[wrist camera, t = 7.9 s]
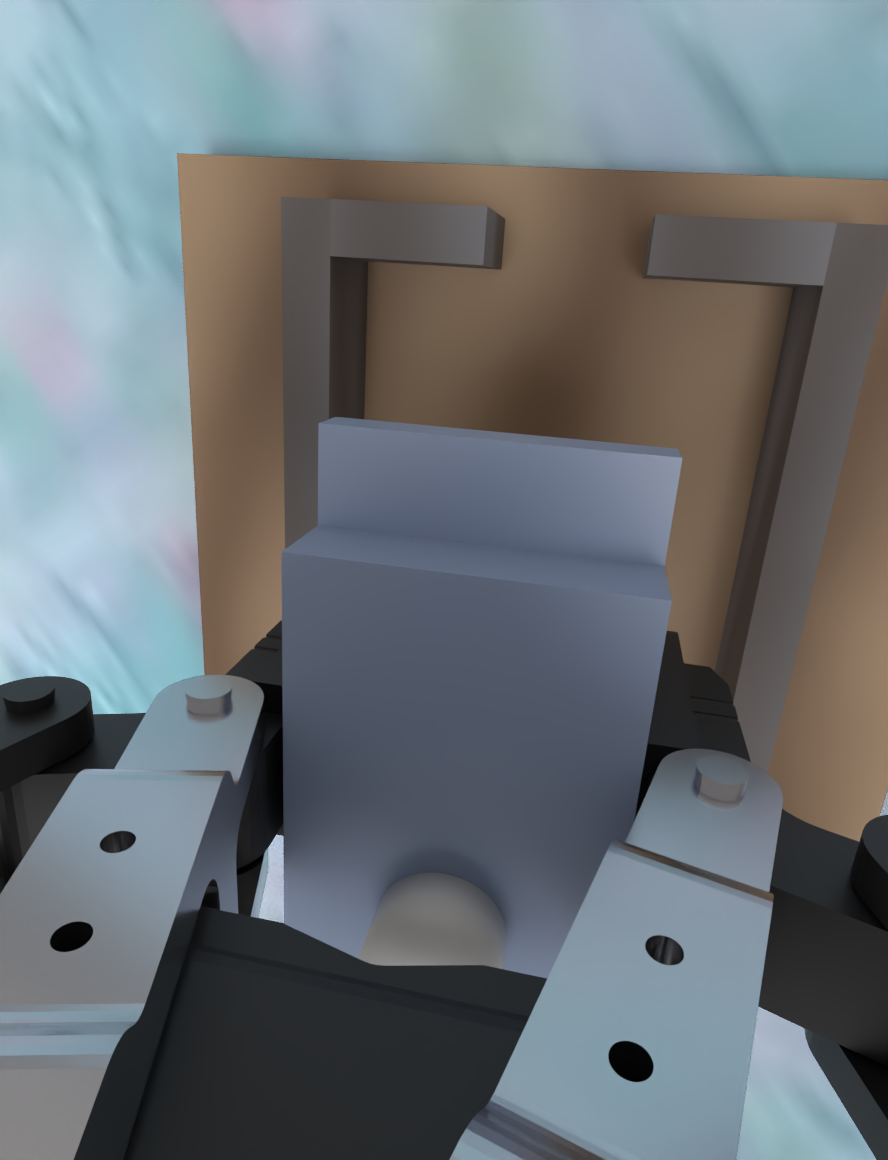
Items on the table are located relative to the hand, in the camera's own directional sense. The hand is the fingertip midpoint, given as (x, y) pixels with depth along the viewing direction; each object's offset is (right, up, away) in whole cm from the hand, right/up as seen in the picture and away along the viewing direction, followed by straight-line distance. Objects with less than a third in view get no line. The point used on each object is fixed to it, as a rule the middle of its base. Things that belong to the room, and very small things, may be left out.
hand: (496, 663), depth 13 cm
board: (+2, +3, +7) cm, 8 cm away
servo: (0, 0, +1) cm, 1 cm away
